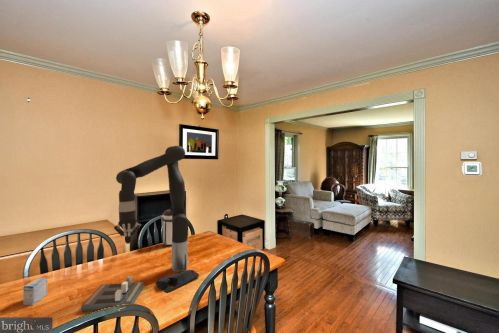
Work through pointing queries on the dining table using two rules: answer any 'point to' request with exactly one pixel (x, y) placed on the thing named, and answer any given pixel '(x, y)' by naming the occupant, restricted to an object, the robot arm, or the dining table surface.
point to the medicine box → (34, 291)
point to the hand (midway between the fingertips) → (128, 243)
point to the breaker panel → (112, 296)
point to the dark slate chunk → (176, 280)
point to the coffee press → (167, 227)
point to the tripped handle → (124, 287)
